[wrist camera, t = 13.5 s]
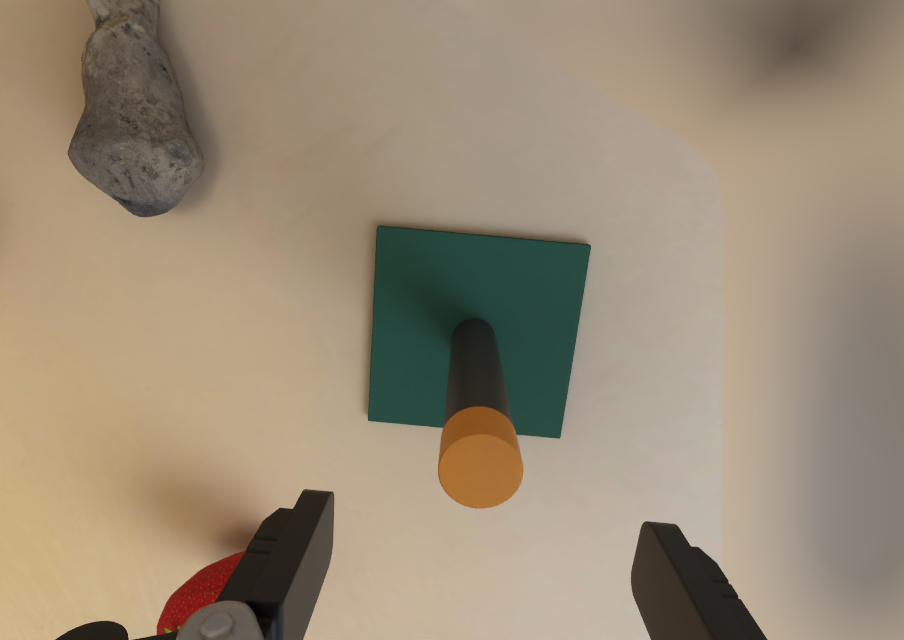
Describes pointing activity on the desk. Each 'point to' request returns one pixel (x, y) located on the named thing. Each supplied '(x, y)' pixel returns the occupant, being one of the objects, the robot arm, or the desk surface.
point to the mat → (465, 297)
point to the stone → (133, 113)
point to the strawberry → (196, 593)
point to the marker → (478, 423)
